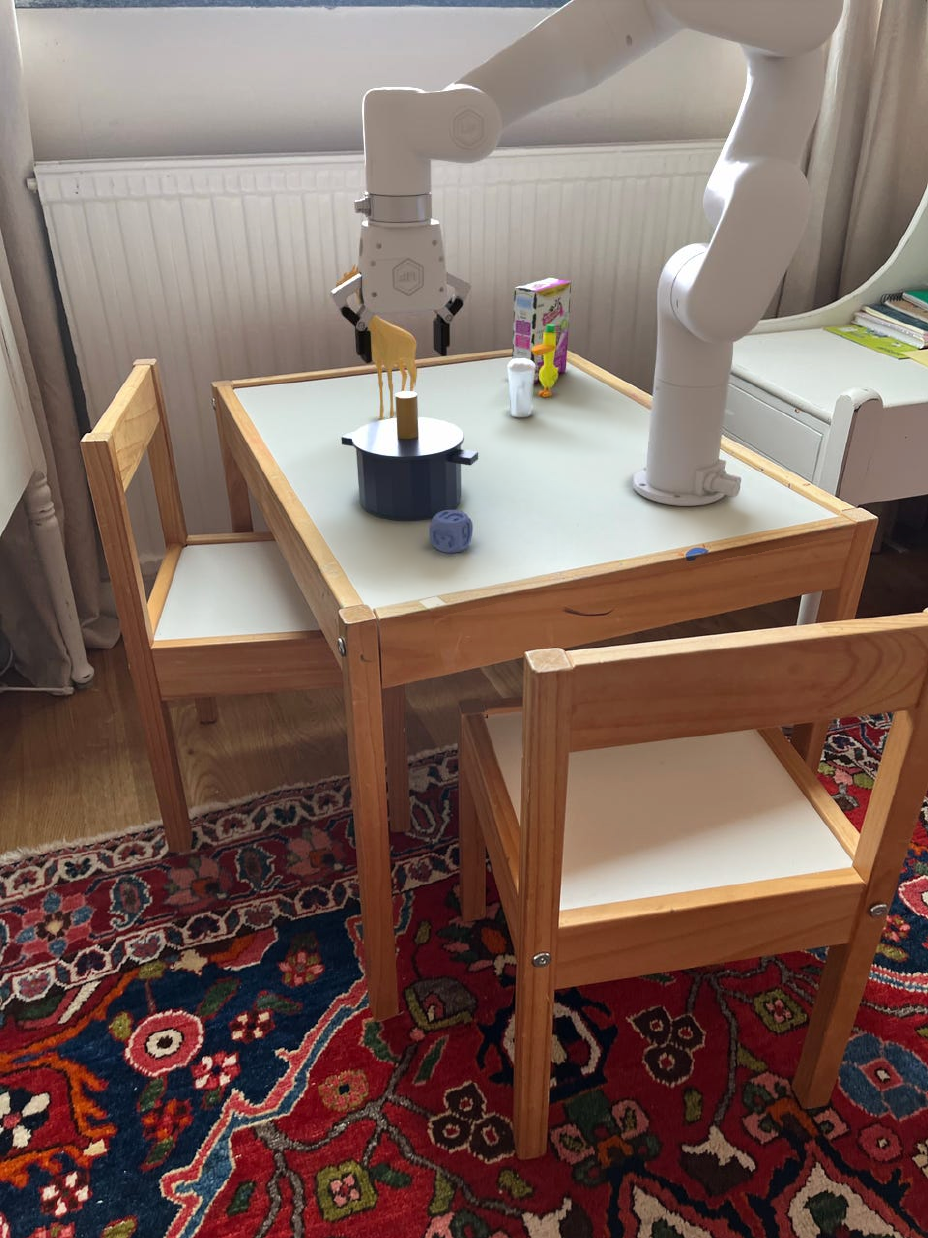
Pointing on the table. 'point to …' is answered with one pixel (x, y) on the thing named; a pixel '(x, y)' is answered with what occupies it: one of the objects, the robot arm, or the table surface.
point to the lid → (407, 434)
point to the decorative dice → (450, 531)
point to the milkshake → (521, 386)
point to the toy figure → (547, 359)
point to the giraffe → (389, 350)
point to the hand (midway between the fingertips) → (403, 356)
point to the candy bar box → (541, 320)
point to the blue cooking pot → (410, 484)
